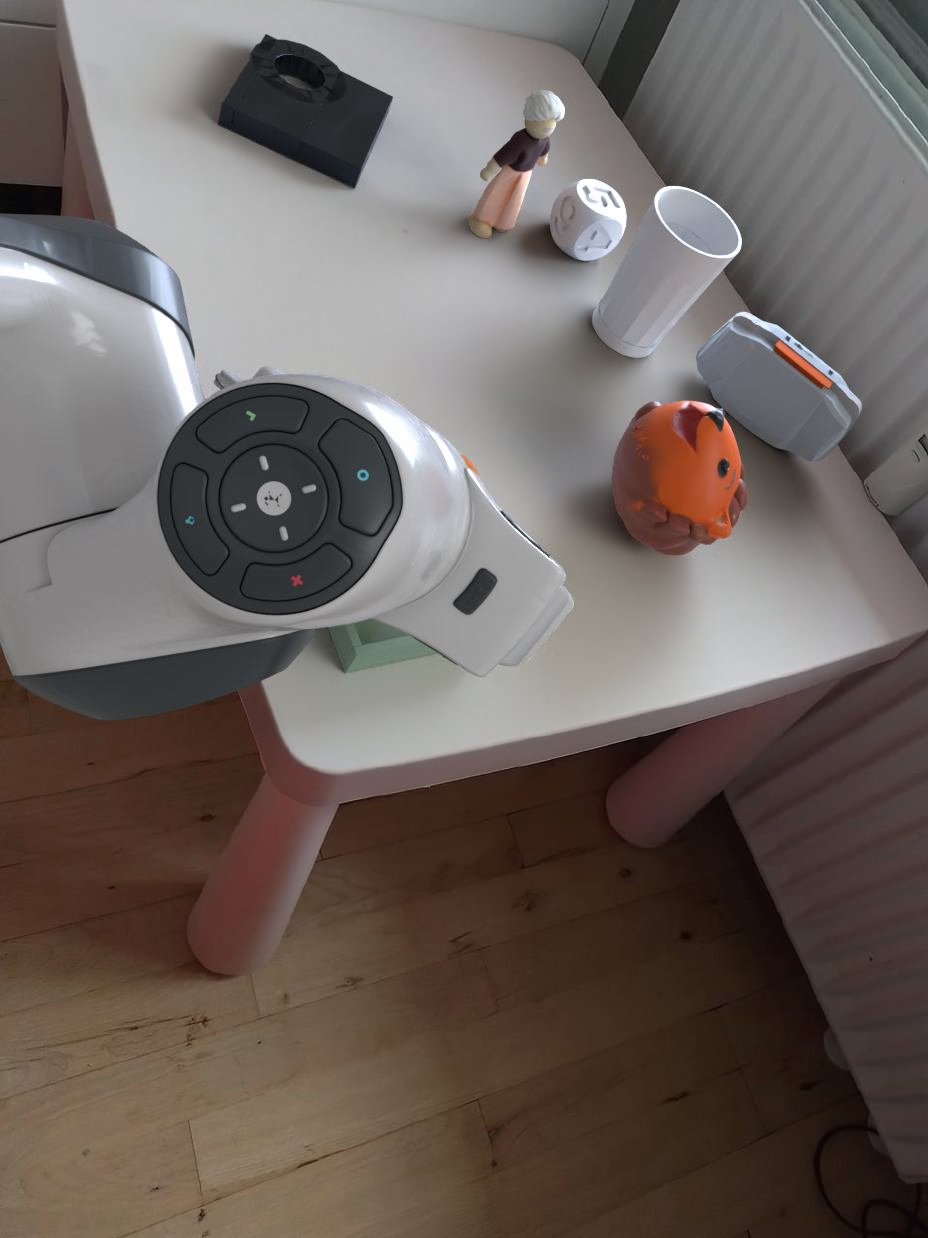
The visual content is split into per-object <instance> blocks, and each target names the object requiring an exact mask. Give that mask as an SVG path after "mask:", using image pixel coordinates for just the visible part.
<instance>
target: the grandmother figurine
mask: <svg viewBox="0 0 928 1238" xmlns="http://www.w3.org/2000/svg"><path fill="white" fill-rule="evenodd" d="M565 110H566V109H565V105H564V103H563V102H562V101H561V99H560V98H559V96H558V95H556V94H554V93H553V91H550V90H543V89H542V90H539V91H536V92H531V94H530V95H528V96H527V97H526V98H525V103H524V108H523V112H522V114H523V117H524V126H525V128H522V129H519V130H517V131H515V132H514V133H513V134H512V136H511V137H510V139H509V140H508V141H506V143H505V144H504V145H502V147H501V148H499V149H498V150H497V151H496V152H495V153H494V154H493V155H492V157H491V159H490V160H489V161H488V162H487V164H486V166H485V167H483V168H482V169H481V170H480V171H479V177H480V179H481V180H482V181H483V182H489V183H488V184H487V185H486V187H485V189H484V191H482V194H481V196H480V198H479V200H478V202H477V204H476V206H475V208H474V210H473V213H470V214H469V215H468V216H467V217H466V220H467V221H466V222H467V224H468V226H469V228H470V230H471V232H472V233H473V234H474V235H475V236H477V237H478V238H481V239H489V238H491V236H492V234H493V229H494V230H495V231H496V232H500V233H506V232H507V231H511V230H512V229H513V228H514V227H515V224H516V222H517V219H518V216H519V213H520V211H521V208H522V205H523V203H524V198H525V194H526V191H527V189H528V186H529V182H530V179H531V176H532V172H533V169H534V168H535V166H536V165H537V166H539V167H544V166H545V165H546V164H547V163H548V156H549V152H550V149H551V139H550V135H551V134H552V133H553V132H554V131H555V129H556V125H557V123H558V122H560V121H561V120H562V119H563V118H564V117H565V112H566V111H565ZM494 174H496V175H494ZM490 180H491V181H490Z"/></svg>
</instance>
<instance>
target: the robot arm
mask: <svg viewBox="0 0 928 1238" xmlns="http://www.w3.org/2000/svg"><path fill="white" fill-rule="evenodd" d="M181 283H182V282H181V280H180V277H179V276H178V274H177V273H176V271H175V270H174V269H173V267H172V266H170V265H169V264H168V263H167V262H166V261H164V260H163V259H162V258H160V256H158V255H157V254H155V253H154V251H152V250H151V249H149V248H148V247H146V246H145V245H144V244H142V243H141V242H139V241H138V240H136V239H134V238H133V237H131V236H130V235H128V234H126V233H125V232H122V231H120V230H119V229H117V228H115V227H113V226H111V225H109V224H107V223H104V222H102V221H98V220H96V219H91V218H85V217H78V216H67V215H53V214H52V215H51V214H27V213H26V214H23V213H22V214H21V213H20V214H19V213H0V647H1V649H2V652H3V655H4V658H5V660H6V662H7V665H8V667H9V670H10V672H11V679H12V680H14V681H15V682H16V683H18V685H20V686H21V687H23V688H24V689H26V690H27V691H28V692H30V693H32V694H34V695H35V696H37V697H39V698H41V699H43V700H45V701H47V702H49V703H51V704H53V705H56V706H59V707H60V708H63V709H65V710H68V711H71V712H73V713H76V714H78V715H82V716H85V717H88V718H91V719H94V720H98V721H123V720H130V719H137V718H144V717H145V718H146V717H149V716H150V717H151V716H154V715H155V716H156V715H159V714H161V715H162V714H165V713H169V712H174V711H178V710H182V709H186V708H190V707H193V706H196V705H199V704H203V703H206V702H209V701H212V700H216V699H218V698H221V697H224V696H227V695H230V694H232V693H235V692H238V691H240V690H242V689H246V688H248V687H250V686H253V685H255V684H258V683H260V682H262V681H264V680H266V679H269V678H271V677H273V676H275V675H276V674H279V673H281V672H283V671H285V670H287V669H288V668H289V667H290V666H291V664H292V663H294V661H295V660H296V659H297V658H298V656H299V655H300V654H301V653H302V652H303V650H304V649H305V648H306V646H307V645H308V644H309V642H310V641H311V639H313V636H314V634H315V633H316V630H317V629H322V628H323V629H324V628H328V627H333V626H341V625H346V624H351V623H356V622H360V621H364V620H367V619H370V618H371V619H374V620H376V621H379V622H381V623H384V624H387V625H389V626H392V627H394V628H396V629H399V630H401V631H403V632H405V633H407V634H409V635H410V636H412V637H413V638H415V639H416V640H418V641H419V642H421V643H423V644H424V645H426V646H428V647H429V648H431V649H433V650H434V651H436V652H437V653H436V654H438V655H440V656H442V658H445V659H446V660H447V661H449V662H451V663H453V664H454V665H456V666H459V667H461V668H462V669H463V670H464V671H466V672H467V673H469V674H471V675H473V676H475V677H479V678H484V677H487V676H488V675H489V674H490V673H491V672H492V671H493V670H494V669H495V668H497V666H499V665H500V666H503V667H507V668H509V667H510V668H511V667H512V668H513V667H517V666H520V665H522V664H526V662H528V661H530V660H532V658H533V657H534V656H535V655H536V654H537V653H538V651H539V650H540V649H541V648H542V646H543V645H544V644H545V643H546V642H547V640H549V638H550V637H551V636H552V635H553V634H554V633H555V632H556V630H558V629H557V628H558V627H559V626H560V625H561V623H563V621H564V620H565V619H566V617H567V616H568V615H569V614H570V612H571V611H572V610H573V608H574V605H575V601H574V598H573V596H572V595H571V593H570V592H569V590H568V589H567V588H566V587H565V586H564V585H563V584H564V582H565V581H566V579H567V573H566V570H565V569H564V567H563V566H562V565H561V564H560V563H558V562H557V560H555V559H553V558H552V557H551V554H550V553H549V552H548V551H547V550H546V549H544V548H543V547H542V546H541V545H540V544H539V543H538V542H537V541H536V540H534V539H533V538H532V537H531V536H530V535H529V534H528V533H527V532H526V531H525V530H523V528H522V527H520V526H519V524H518V523H517V522H516V521H514V519H513V518H512V517H511V516H510V515H509V514H508V513H507V512H506V511H505V510H503V509H501V508H500V506H499V505H498V504H497V502H496V501H495V499H494V498H493V497H492V496H491V494H490V493H489V491H488V489H487V488H486V486H485V485H484V483H483V482H482V480H481V479H479V478H480V476H479V477H478V476H477V474H476V473H475V472H474V471H473V470H471V469H470V468H468V467H467V465H466V463H465V461H464V460H463V458H462V457H461V455H462V454H461V453H460V452H459V451H458V450H457V449H456V447H455V446H454V445H453V444H452V443H451V442H450V441H449V440H448V439H447V438H445V436H443V435H442V434H441V433H439V432H438V431H437V430H435V429H434V428H432V427H431V426H429V424H427V423H426V422H425V421H422V420H421V419H420V418H418V417H416V415H415V414H413V413H412V412H411V411H409V409H407V408H406V407H405V406H403V405H402V404H400V403H399V402H397V401H396V400H394V399H392V398H391V397H389V396H388V395H386V394H384V393H383V392H380V391H378V390H376V389H374V388H372V387H369V386H367V385H364V384H361V383H358V382H355V381H352V380H349V379H345V378H341V377H336V376H330V375H325V374H316V373H315V374H314V373H286V372H285V371H283V370H281V369H278V368H276V367H272V366H267V365H266V366H265V365H264V366H262V367H260V368H259V369H258V370H257V371H256V372H255V374H254V375H253V377H252V378H248V379H243V378H241V377H240V376H238V375H237V374H235V373H233V372H231V371H229V370H227V369H221V370H220V372H217V373H216V374H215V377H214V378H215V379H214V380H213V385H214V386H216V387H217V388H218V389H219V390H217V391H216V392H214V393H211V394H210V395H209V396H208V397H205V393H204V390H203V387H202V383H201V380H200V376H199V373H198V369H197V365H196V362H195V361H196V353H195V347H194V342H193V336H192V332H191V327H190V323H189V318H188V312H187V307H186V302H185V297H184V292H183V288H182V284H181ZM460 454H461V455H460Z"/></svg>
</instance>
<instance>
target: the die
mask: <svg viewBox="0 0 928 1238" xmlns="http://www.w3.org/2000/svg"><path fill="white" fill-rule="evenodd" d="M626 225H627V211H626V206H625V203H624V200H623V199H622V197H621V196H620V194H619V193H618V192H617V191H616V190H615V189H614V188H613V187H611V186H609V185H608V184H607V183H604V182H602V181H600V180H598V179H593V178H584V179H580V180H576V181H574V182H572V183H570V184H569V185H567V186H565V187H564V188H563V189H562V190H561V191H560V193H559V194H558V195H557V197H556V198H555V200H554V202H553V205H552V207H551V211H550V219H549V228H550V233H551V236H552V239H553V242H554V243H555V245H556V246H557V247H558V248H559V249H560V250H561V251H562V252H563V253H565V254H566V256H569V257H571V258H573V259H574V260H575V259H576V260H578V261H584V262H588V261H589V262H590V261H596V260H599V259H601V258H603V257H605V256H606V255H608V254H609V253H611V252H612V251H613V250H614V249H615V248H616V247H617V246H618V244H619V243H620V242H621V239H622V238H623V235H624V232H625V229H626Z"/></svg>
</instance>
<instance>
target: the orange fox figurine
mask: <svg viewBox="0 0 928 1238" xmlns="http://www.w3.org/2000/svg"><path fill="white" fill-rule="evenodd" d="M725 413H726V411H725V410H724V409H723V408H722V407H721V408H720V407H719V408H717V407H714V406H713V405H711V404H709V403H707V402H706V403H705V402H702V401H695V400H680V401H679V400H678V401H673V402H670V403H664V404H661V402H659V401H657V400H654V401H650V402H647V403H645V404H644V405H642V406H641V407H640V408H639V409H638V410H637V411H636V412H635V414H634V415H633V417H632V419H630V422H629V423H628V425H627V427H626V429H625V431H624V432H623V434H622V436H621V438H620V440H619V442H618V444H617V447H616V449H615V453H614V456H613V457H614V458H613V461H612V462H613V463H612V471H611V491H612V495H613V499H614V505H615V509H616V513H617V514H618V516H619V518H620V519H621V520H622V521H623V524H624V526H625V528H626V530H627V532H628V533H629V535H631V537H632V538H634V539H635V540H636V541H637V542H639V543H640V544H642V545H644V546H646V547H650V548H651V549H652V550H654V551H655V552H657V553H659V554H661V555H664V556H671V557H672V556H673V557H677V556H678V557H679V556H683V555H687V554H689V553H690V552H692V551H693V550H695V549H696V548H697V547H698V546H699V545H703V546H710V545H713V544H714V543H715V542H716V541H718V540H720V539H727V538H728V537H730V535H731V534H732V529H734V527H735V526H736V525H737V523H738V521H739V519H740V517H741V512H743V511H744V510H745V508H746V507H747V505H748V503H749V502H748V501H749V493H748V489H747V486H746V483H745V482H744V478H745V476H746V475H745V474H746V473H745V467H744V464H743V462H742V460H741V455H740V449H739V446H738V443H737V440H736V437H735V434H734V432H733V430H732V427H731V425H730V423H729V422H728V421H727V419H726V417H725Z"/></svg>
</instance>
